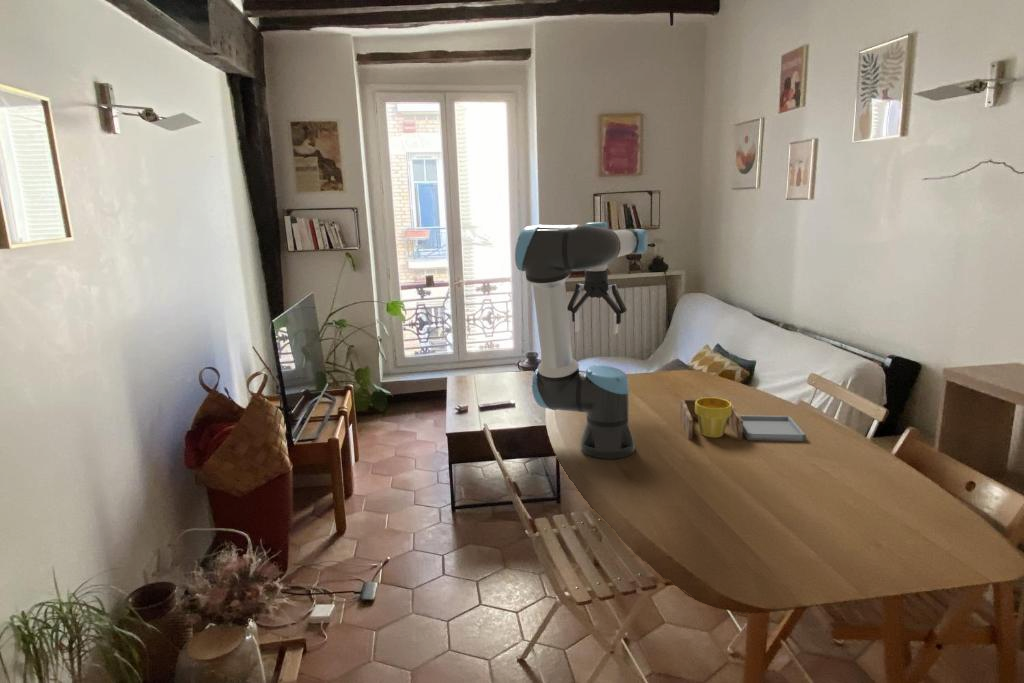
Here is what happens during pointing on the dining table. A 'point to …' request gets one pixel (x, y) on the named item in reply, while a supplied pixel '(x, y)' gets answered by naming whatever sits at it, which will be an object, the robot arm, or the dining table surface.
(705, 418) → the plant pot
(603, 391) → the robot arm
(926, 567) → the dining table surface
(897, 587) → the dining table surface
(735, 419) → the box
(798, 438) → the tray
